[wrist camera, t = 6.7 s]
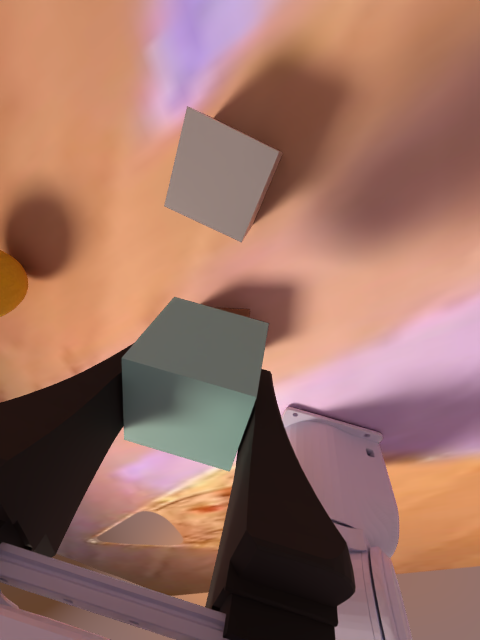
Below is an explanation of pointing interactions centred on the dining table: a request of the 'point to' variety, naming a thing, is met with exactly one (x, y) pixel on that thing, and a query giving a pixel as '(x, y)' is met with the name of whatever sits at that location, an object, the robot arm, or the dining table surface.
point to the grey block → (220, 175)
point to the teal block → (193, 382)
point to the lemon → (11, 283)
